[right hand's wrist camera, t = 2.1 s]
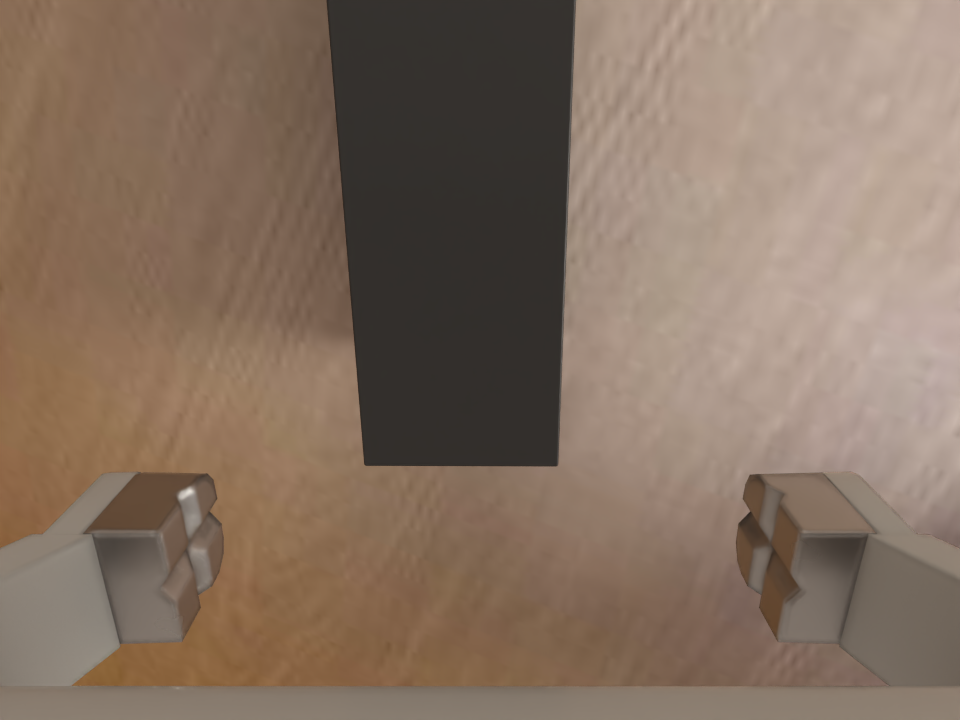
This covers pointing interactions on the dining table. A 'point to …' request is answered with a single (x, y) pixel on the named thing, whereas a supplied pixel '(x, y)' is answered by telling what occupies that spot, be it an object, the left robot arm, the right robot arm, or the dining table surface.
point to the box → (456, 223)
